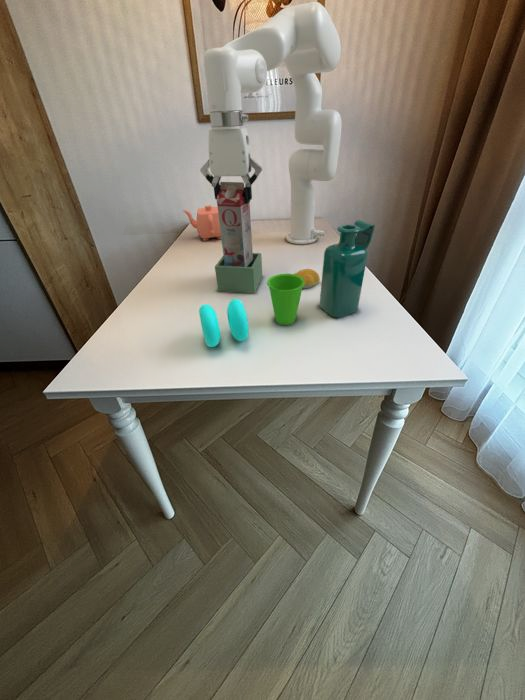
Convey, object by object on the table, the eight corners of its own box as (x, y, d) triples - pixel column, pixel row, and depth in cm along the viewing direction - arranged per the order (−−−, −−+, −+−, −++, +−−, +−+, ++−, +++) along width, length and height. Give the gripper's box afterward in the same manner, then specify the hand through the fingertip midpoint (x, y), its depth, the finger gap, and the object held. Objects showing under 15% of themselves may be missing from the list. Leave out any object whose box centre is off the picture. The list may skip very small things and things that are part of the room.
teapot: (186, 239, 135) (181, 208, 127) (212, 228, 145) (208, 199, 137) (212, 245, 127) (207, 212, 120) (237, 233, 138) (234, 203, 130)
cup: (306, 313, 83) (308, 275, 77) (298, 332, 77) (299, 292, 70) (274, 308, 86) (273, 271, 79) (263, 326, 79) (262, 287, 72)
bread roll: (323, 281, 98) (324, 269, 96) (306, 291, 93) (307, 279, 91) (302, 274, 103) (303, 262, 100) (285, 283, 98) (285, 271, 95)
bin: (262, 276, 102) (261, 253, 97) (254, 293, 93) (253, 268, 88) (228, 275, 104) (226, 251, 99) (218, 291, 96) (214, 266, 91)
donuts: (251, 348, 72) (248, 311, 66) (208, 356, 70) (201, 320, 64) (241, 325, 80) (237, 290, 74) (202, 333, 78) (196, 297, 72)
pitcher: (335, 320, 80) (346, 234, 67) (316, 306, 86) (323, 224, 73) (364, 310, 84) (380, 226, 70) (344, 297, 90) (355, 217, 76)
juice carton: (245, 268, 91) (238, 185, 77) (224, 266, 93) (214, 184, 79) (253, 259, 96) (248, 179, 82) (233, 257, 98) (225, 179, 84)
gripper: (265, 119, 74) (267, 199, 85) (197, 121, 77) (208, 198, 88) (259, 120, 69) (262, 206, 80) (186, 123, 72) (198, 205, 83)
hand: (233, 201), depth 84 cm, fingers closed on juice carton, 7 cm apart
